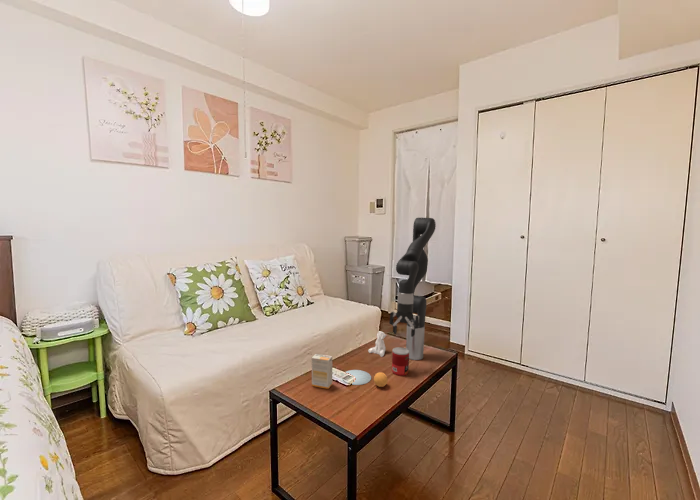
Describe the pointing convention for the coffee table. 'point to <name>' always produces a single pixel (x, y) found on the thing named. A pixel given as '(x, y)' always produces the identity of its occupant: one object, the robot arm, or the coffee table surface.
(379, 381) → the ball
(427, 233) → the robot arm
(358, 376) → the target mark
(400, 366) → the canned food
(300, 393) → the coffee table surface
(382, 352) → the seated beast figurine
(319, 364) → the supplement box
